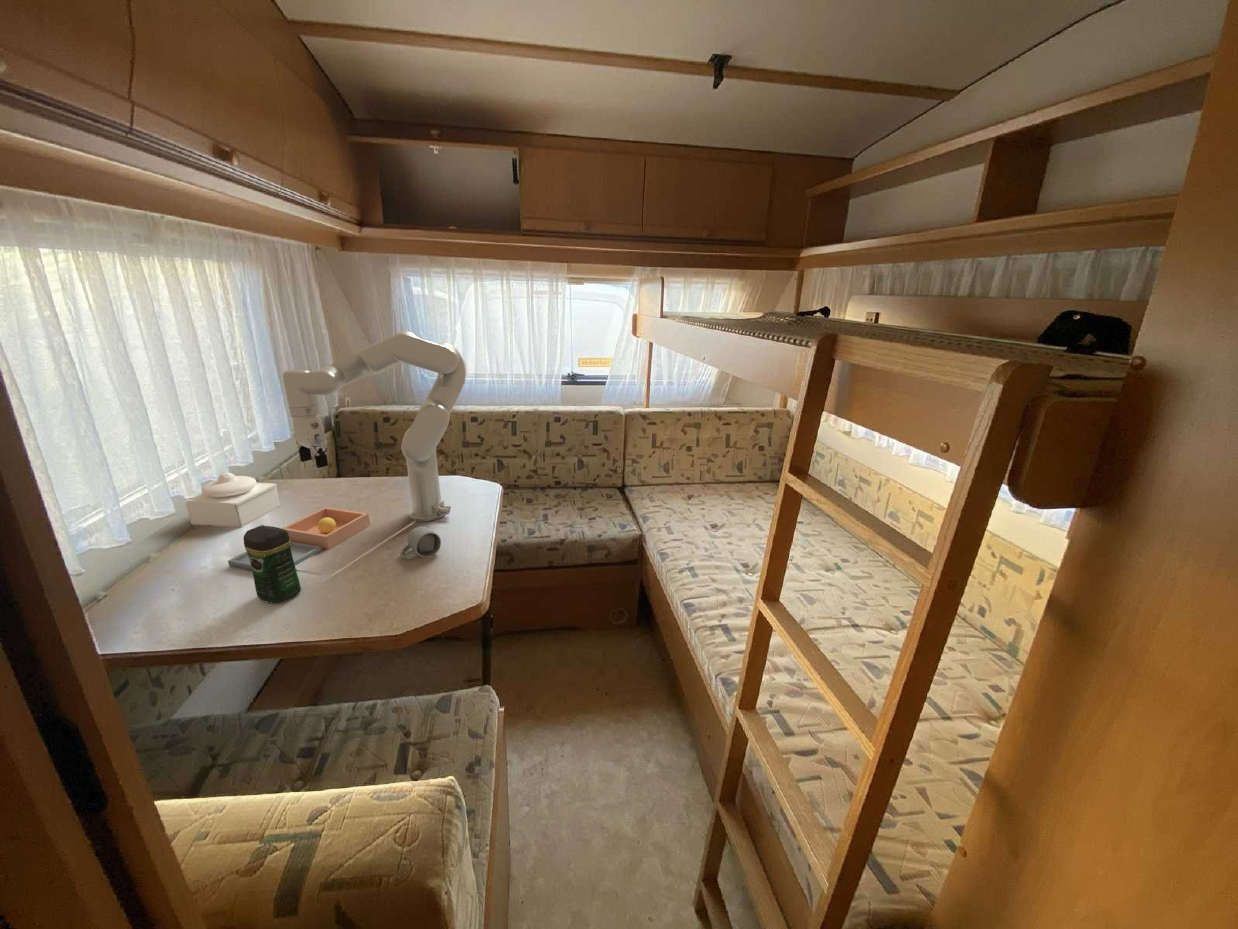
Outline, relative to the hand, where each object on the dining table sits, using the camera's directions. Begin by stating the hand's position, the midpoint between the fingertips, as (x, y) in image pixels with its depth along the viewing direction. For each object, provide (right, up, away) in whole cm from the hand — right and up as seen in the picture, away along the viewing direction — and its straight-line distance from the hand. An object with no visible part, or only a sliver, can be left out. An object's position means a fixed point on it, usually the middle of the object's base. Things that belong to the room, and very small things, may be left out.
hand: (314, 463), depth 159 cm
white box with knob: (-34, -18, +13) cm, 40 cm away
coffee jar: (+10, -34, -31) cm, 47 cm away
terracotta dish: (+4, -23, 0) cm, 23 cm away
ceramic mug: (+38, -27, -10) cm, 47 cm away
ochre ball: (+5, -22, 0) cm, 22 cm away
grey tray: (-2, -28, -14) cm, 31 cm away
